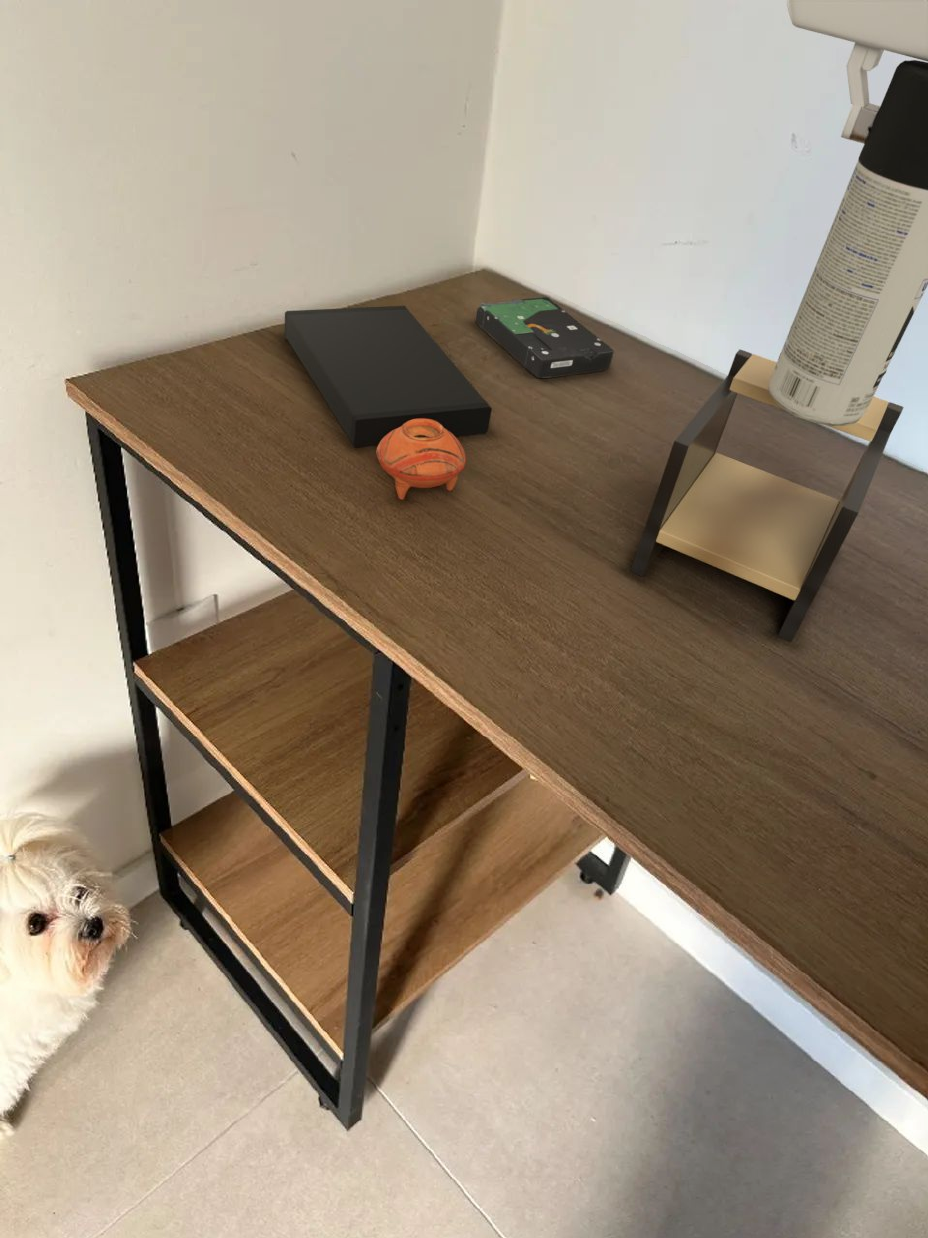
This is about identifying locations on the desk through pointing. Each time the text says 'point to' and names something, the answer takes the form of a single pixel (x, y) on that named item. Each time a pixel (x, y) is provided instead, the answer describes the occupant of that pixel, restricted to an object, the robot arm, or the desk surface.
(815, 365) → the spray can
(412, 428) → the pot
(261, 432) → the desk surface
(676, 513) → the shelf
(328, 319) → the external hard drive
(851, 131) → the robot arm
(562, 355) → the disk drive
